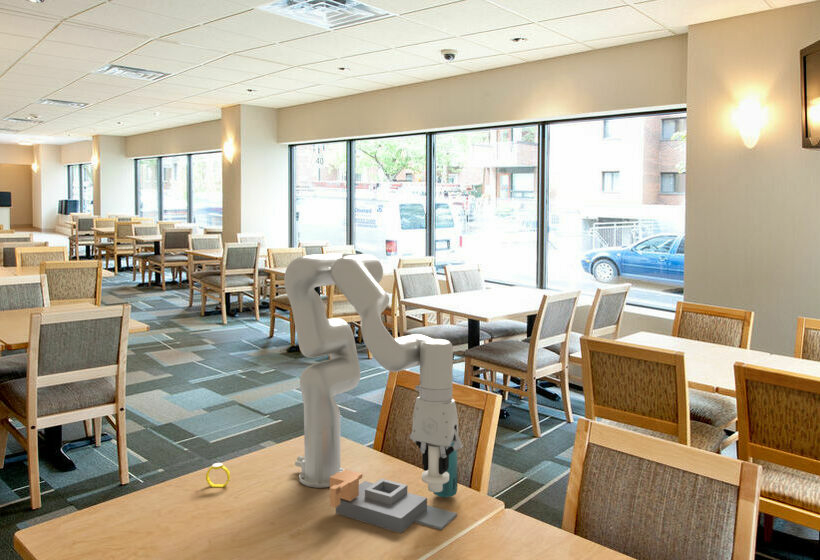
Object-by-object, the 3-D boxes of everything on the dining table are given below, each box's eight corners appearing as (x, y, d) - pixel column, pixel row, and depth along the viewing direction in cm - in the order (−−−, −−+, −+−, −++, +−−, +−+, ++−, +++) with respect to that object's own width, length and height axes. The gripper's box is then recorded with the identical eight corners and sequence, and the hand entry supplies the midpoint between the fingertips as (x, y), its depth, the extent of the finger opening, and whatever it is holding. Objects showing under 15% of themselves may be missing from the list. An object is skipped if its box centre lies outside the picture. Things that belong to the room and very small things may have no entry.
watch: (205, 489, 164) (203, 467, 163) (209, 485, 167) (207, 463, 166) (228, 488, 164) (226, 466, 163) (232, 483, 167) (229, 461, 166)
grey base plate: (336, 513, 151) (336, 491, 151) (364, 494, 161) (364, 473, 161) (400, 533, 142) (401, 509, 142) (426, 511, 152) (427, 489, 152)
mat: (410, 521, 148) (410, 518, 148) (427, 507, 155) (427, 505, 155) (441, 530, 144) (441, 527, 144) (456, 515, 151) (456, 513, 151)
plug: (416, 491, 147) (416, 441, 146) (429, 481, 153) (430, 433, 151) (441, 497, 144) (441, 447, 143) (453, 487, 149) (454, 438, 148)
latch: (315, 504, 147) (315, 483, 147) (343, 486, 157) (343, 466, 156) (336, 510, 144) (336, 489, 144) (363, 492, 154) (364, 472, 153)
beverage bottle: (455, 504, 156) (457, 425, 154) (429, 501, 158) (430, 423, 155) (459, 493, 163) (460, 417, 160) (433, 490, 164) (434, 415, 162)
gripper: (396, 392, 147) (396, 468, 149) (461, 402, 138) (460, 484, 140) (413, 384, 153) (412, 458, 155) (475, 394, 145) (474, 472, 147)
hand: (435, 469), depth 148 cm, fingers closed on plug, 3 cm apart
